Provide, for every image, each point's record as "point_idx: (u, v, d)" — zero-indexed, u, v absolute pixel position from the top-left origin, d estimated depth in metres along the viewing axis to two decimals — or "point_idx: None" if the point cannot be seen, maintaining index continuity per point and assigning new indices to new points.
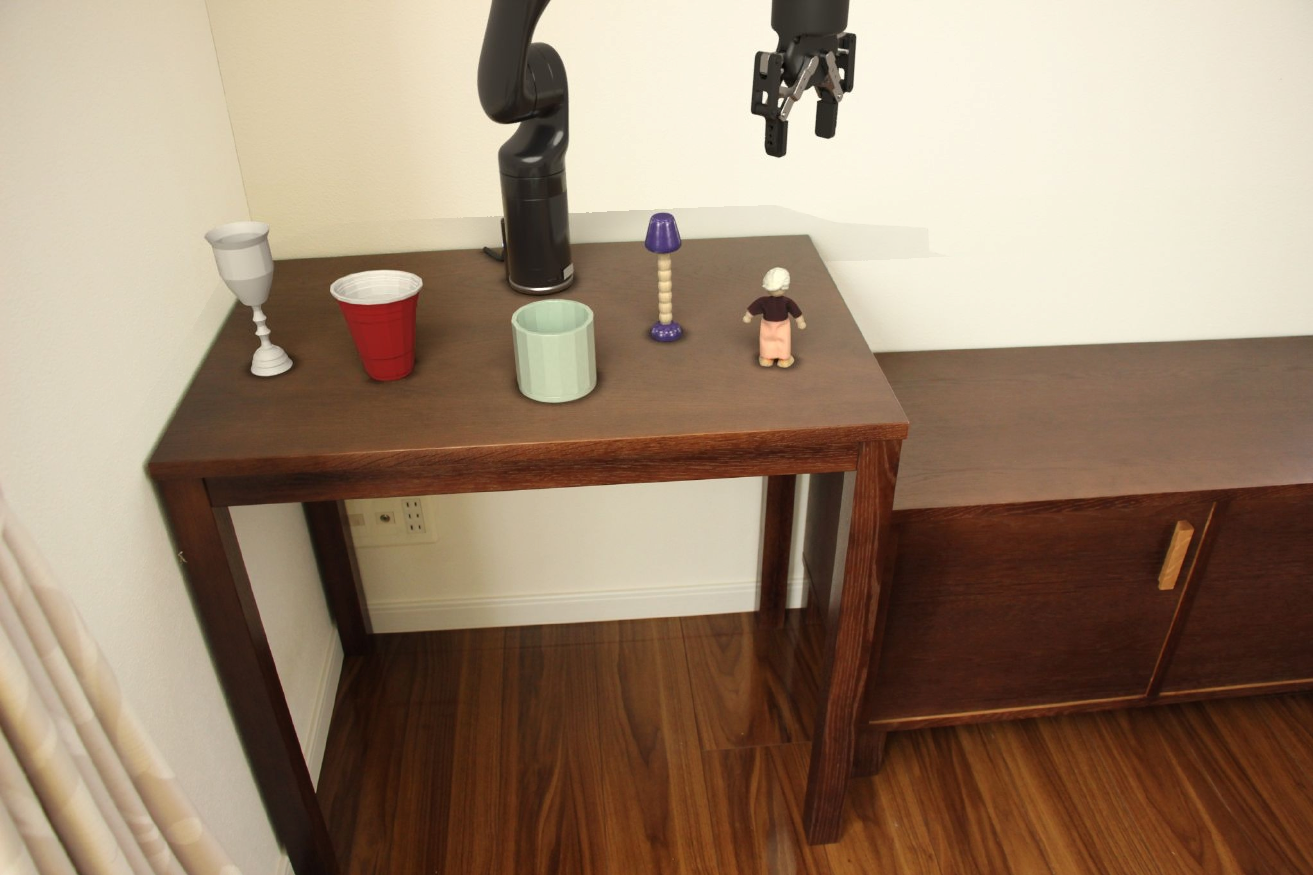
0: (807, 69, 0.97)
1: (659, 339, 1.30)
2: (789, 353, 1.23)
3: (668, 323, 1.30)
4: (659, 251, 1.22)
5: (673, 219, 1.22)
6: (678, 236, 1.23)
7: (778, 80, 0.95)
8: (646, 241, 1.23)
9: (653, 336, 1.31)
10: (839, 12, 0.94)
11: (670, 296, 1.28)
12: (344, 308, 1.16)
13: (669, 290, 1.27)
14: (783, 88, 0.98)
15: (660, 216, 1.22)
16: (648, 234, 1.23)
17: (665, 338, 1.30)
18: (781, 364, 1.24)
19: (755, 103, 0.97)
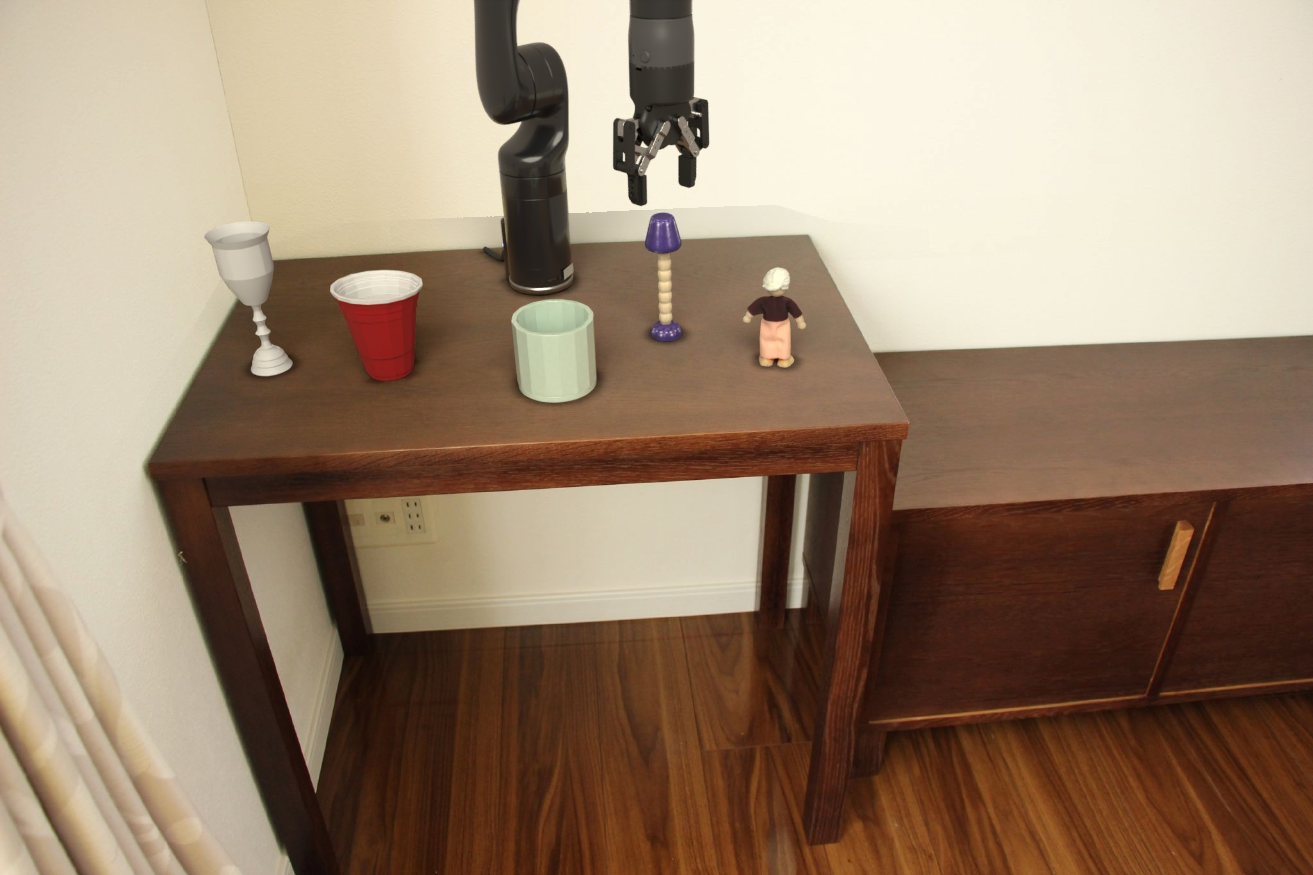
0: (660, 132, 1.14)
1: (659, 339, 1.30)
2: (789, 353, 1.23)
3: (668, 323, 1.30)
4: (659, 251, 1.22)
5: (673, 219, 1.22)
6: (678, 236, 1.23)
7: (633, 142, 1.12)
8: (646, 241, 1.23)
9: (653, 336, 1.31)
10: (683, 86, 1.11)
11: (670, 296, 1.28)
12: (344, 308, 1.16)
13: (669, 290, 1.27)
14: (641, 148, 1.15)
15: (660, 216, 1.22)
16: (648, 234, 1.23)
17: (665, 338, 1.30)
18: (781, 364, 1.24)
19: (616, 161, 1.14)
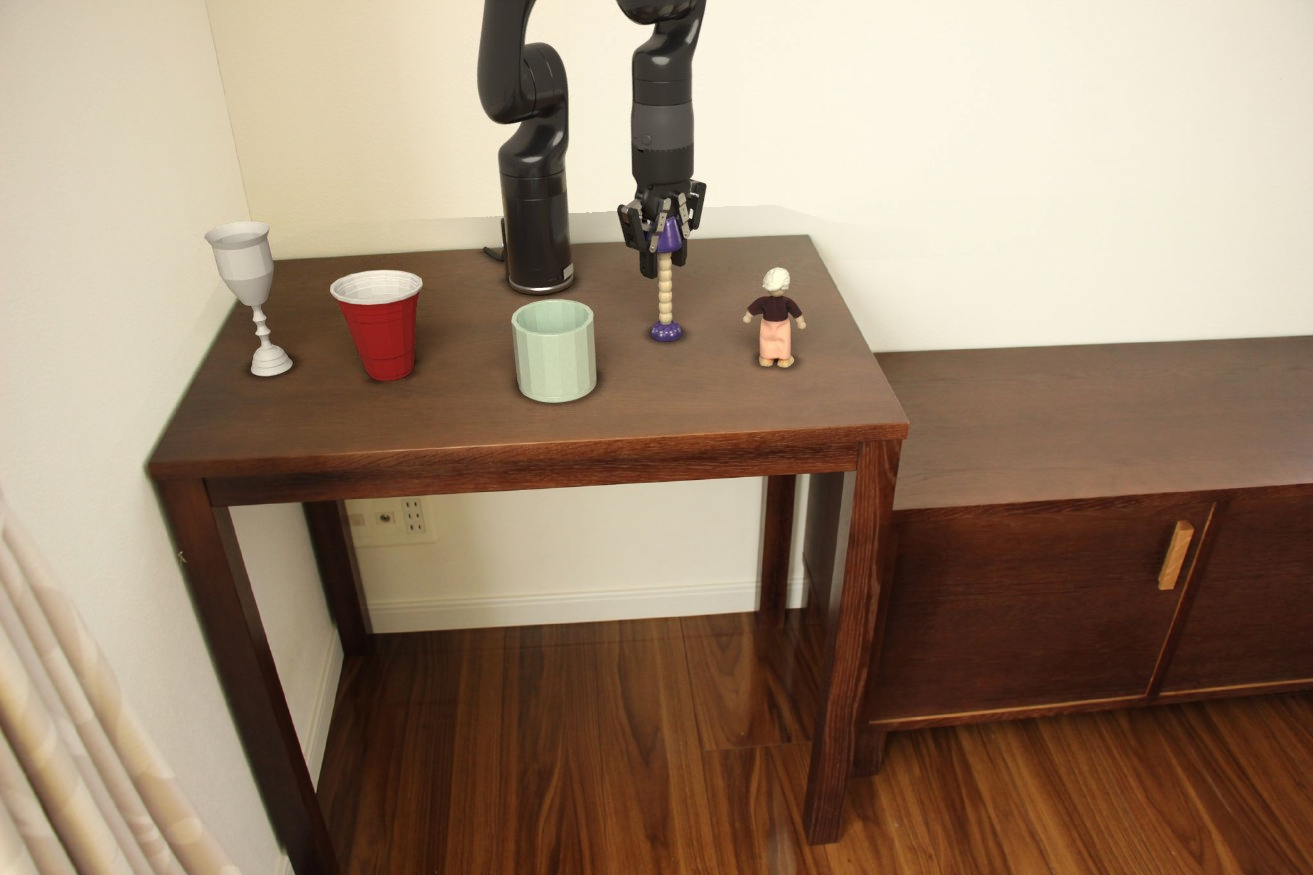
0: (662, 210, 1.19)
1: (659, 339, 1.30)
2: (789, 353, 1.23)
3: (668, 323, 1.30)
4: (660, 251, 1.23)
5: (674, 219, 1.22)
6: (679, 236, 1.23)
7: (639, 225, 1.18)
8: None
9: (653, 336, 1.30)
10: (683, 166, 1.16)
11: (671, 296, 1.28)
12: (344, 308, 1.16)
13: (669, 290, 1.27)
14: (647, 226, 1.21)
15: None
16: (649, 234, 1.23)
17: (665, 337, 1.30)
18: (781, 364, 1.24)
19: (628, 241, 1.21)
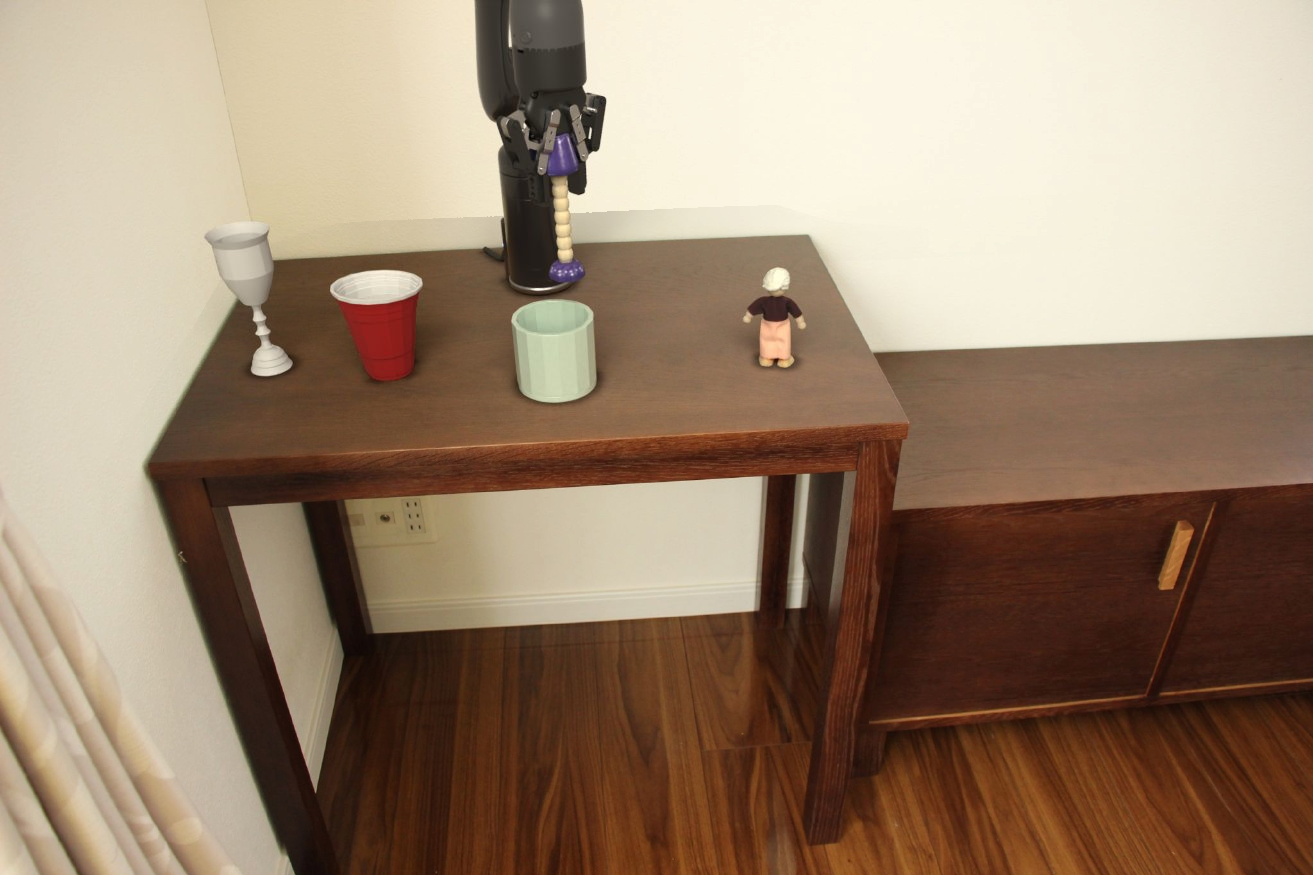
0: (550, 124, 1.03)
1: (558, 279, 1.14)
2: (789, 353, 1.23)
3: (569, 261, 1.14)
4: (551, 173, 1.06)
5: (567, 136, 1.06)
6: (574, 157, 1.07)
7: (523, 140, 1.02)
8: None
9: (551, 276, 1.14)
10: (571, 70, 1.00)
11: (569, 230, 1.12)
12: (344, 308, 1.16)
13: (567, 222, 1.11)
14: (535, 144, 1.04)
15: None
16: None
17: (565, 278, 1.13)
18: (781, 364, 1.24)
19: (512, 161, 1.04)
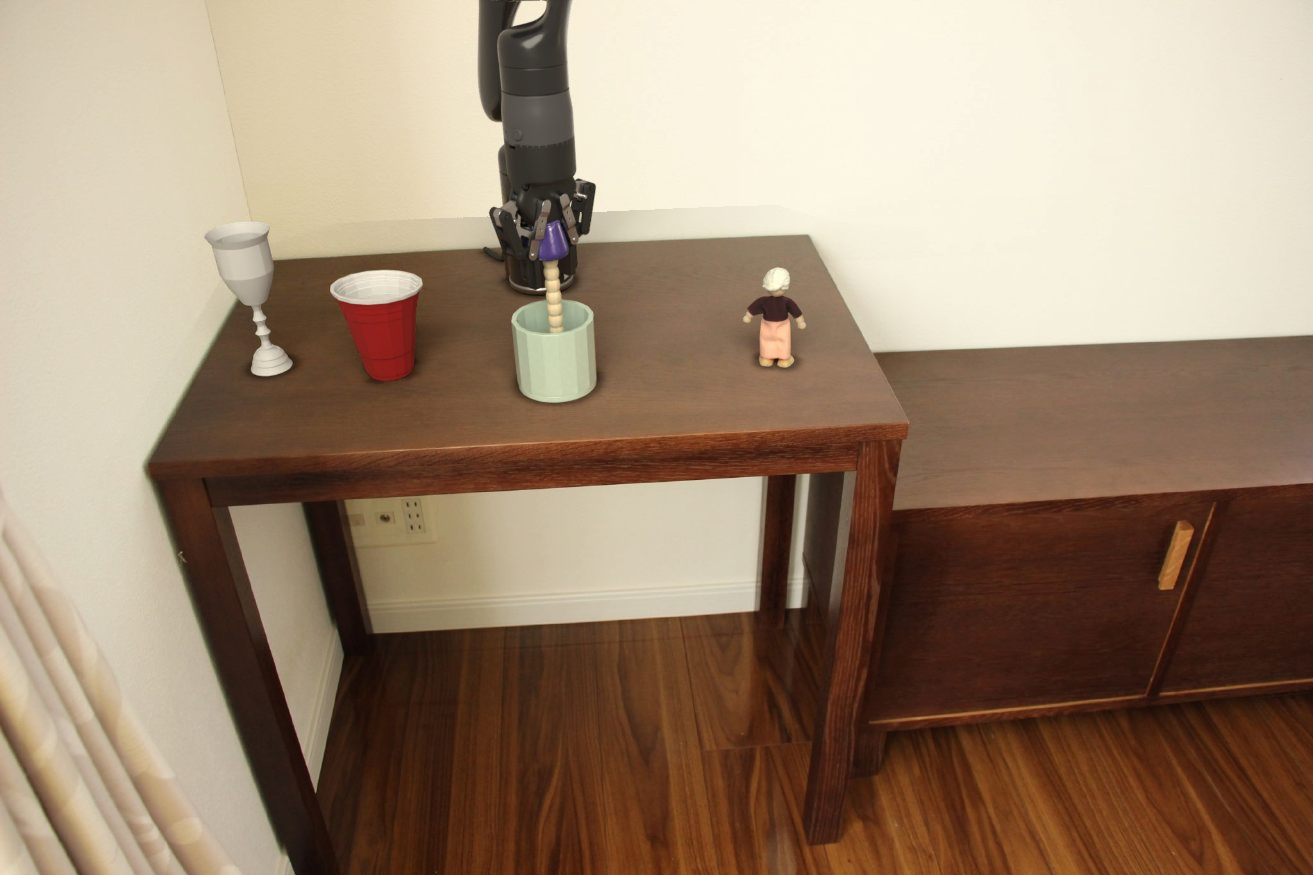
0: (541, 214, 1.07)
1: None
2: (789, 353, 1.23)
3: None
4: (542, 259, 1.10)
5: (557, 223, 1.10)
6: (564, 242, 1.11)
7: (514, 230, 1.06)
8: None
9: None
10: (561, 164, 1.04)
11: (560, 309, 1.16)
12: (344, 308, 1.16)
13: (558, 302, 1.15)
14: (527, 231, 1.08)
15: None
16: None
17: None
18: (781, 364, 1.24)
19: (504, 248, 1.08)
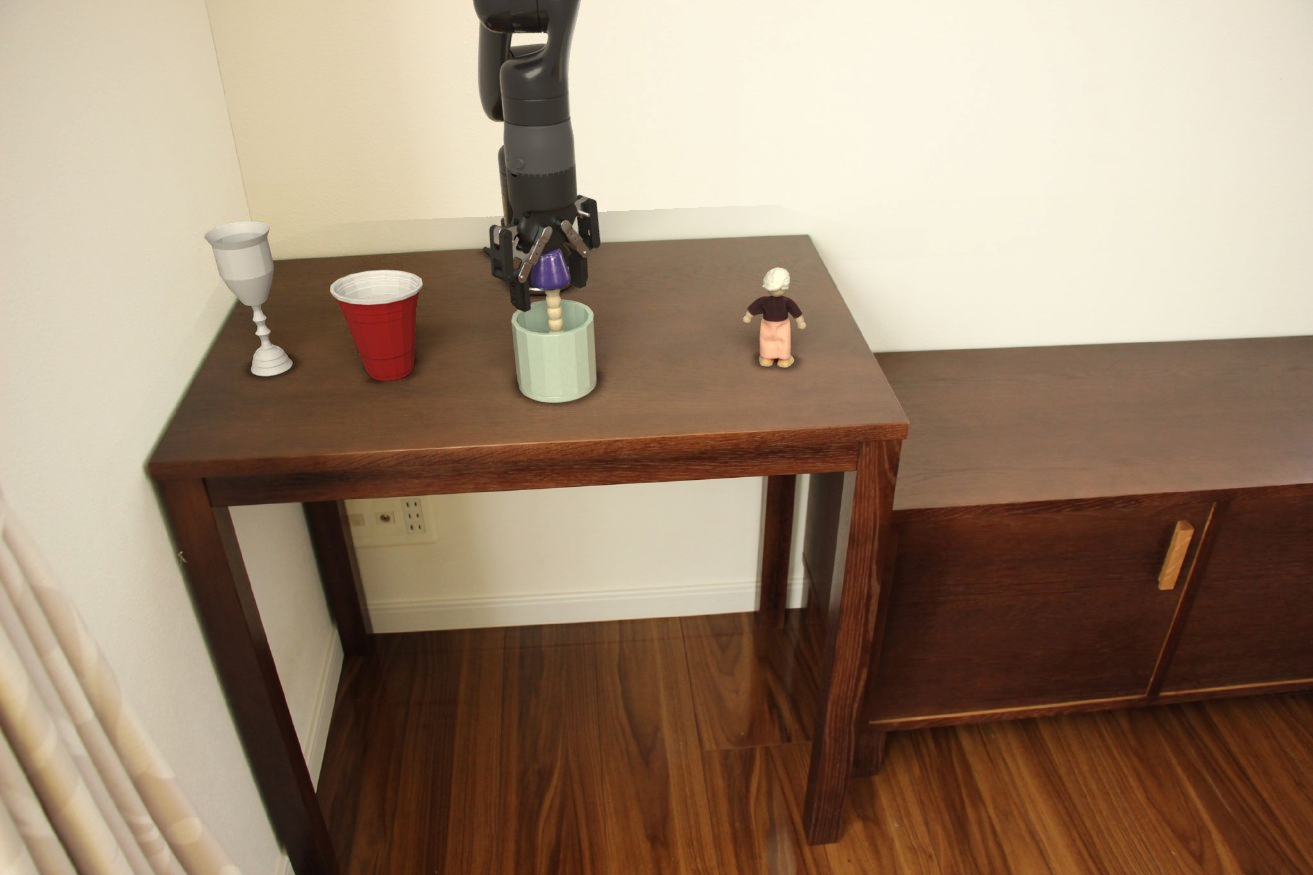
0: (540, 238, 1.08)
1: None
2: (789, 353, 1.23)
3: None
4: (544, 288, 1.12)
5: (559, 253, 1.11)
6: (566, 271, 1.12)
7: (510, 250, 1.06)
8: (531, 277, 1.13)
9: None
10: (562, 192, 1.05)
11: None
12: (344, 308, 1.16)
13: (560, 329, 1.17)
14: (521, 254, 1.09)
15: None
16: (533, 269, 1.12)
17: None
18: (781, 364, 1.24)
19: (494, 268, 1.08)
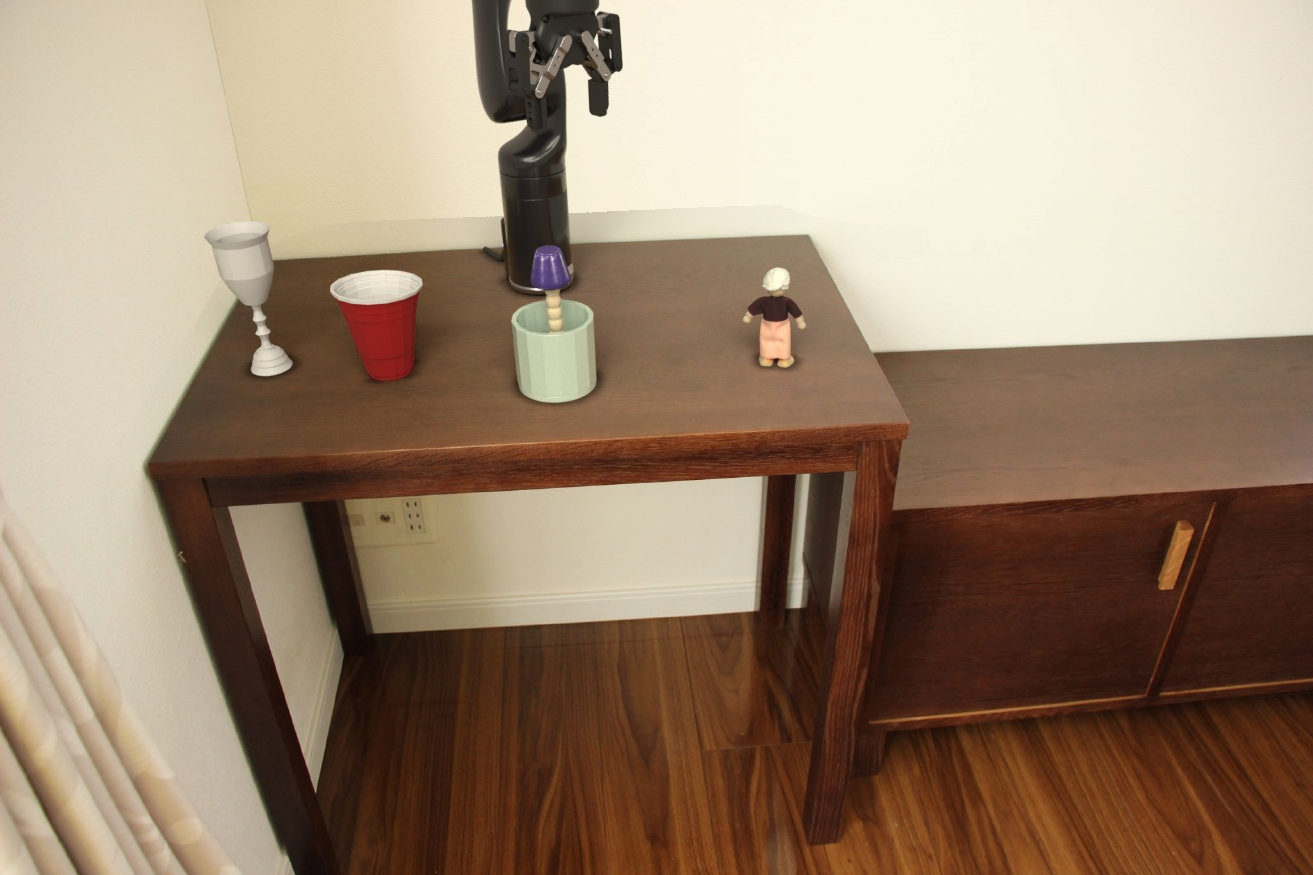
0: (559, 48, 1.00)
1: None
2: (789, 353, 1.23)
3: None
4: (544, 288, 1.12)
5: (559, 253, 1.11)
6: (566, 271, 1.12)
7: (527, 58, 0.99)
8: (531, 277, 1.13)
9: None
10: None
11: None
12: (344, 308, 1.16)
13: (560, 329, 1.17)
14: (539, 66, 1.01)
15: (545, 250, 1.12)
16: (533, 269, 1.12)
17: None
18: (781, 364, 1.24)
19: (509, 80, 1.00)
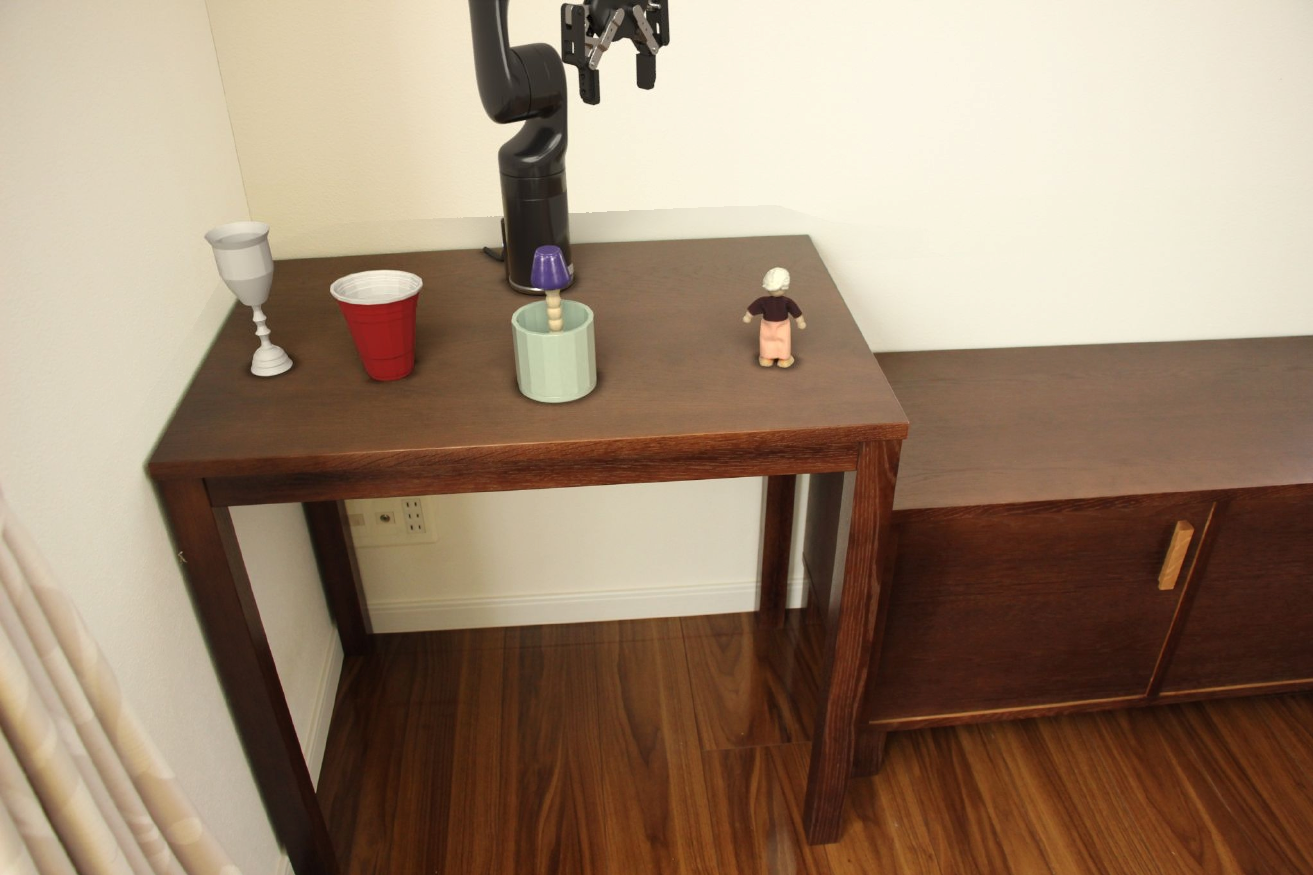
0: (613, 21, 1.04)
1: None
2: (789, 353, 1.23)
3: None
4: (544, 288, 1.12)
5: (559, 253, 1.11)
6: (566, 271, 1.12)
7: (582, 30, 1.02)
8: (531, 277, 1.13)
9: None
10: None
11: None
12: (344, 308, 1.16)
13: (560, 329, 1.17)
14: (592, 39, 1.05)
15: (545, 250, 1.12)
16: (533, 269, 1.12)
17: None
18: (781, 364, 1.24)
19: (565, 52, 1.04)
